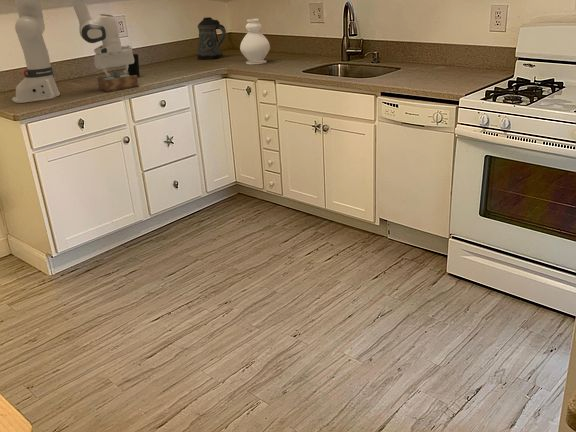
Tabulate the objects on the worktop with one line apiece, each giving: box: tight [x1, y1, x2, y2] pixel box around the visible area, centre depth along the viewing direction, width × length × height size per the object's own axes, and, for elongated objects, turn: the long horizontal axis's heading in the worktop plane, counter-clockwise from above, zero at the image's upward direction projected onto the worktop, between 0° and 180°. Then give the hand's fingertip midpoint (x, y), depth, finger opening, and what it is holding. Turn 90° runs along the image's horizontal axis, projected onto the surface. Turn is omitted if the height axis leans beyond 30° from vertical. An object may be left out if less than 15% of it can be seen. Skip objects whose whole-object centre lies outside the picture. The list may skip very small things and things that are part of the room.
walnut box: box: [96, 73, 139, 93], centre depth 307 cm, size 17×11×6 cm, turn 128°
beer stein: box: [196, 16, 227, 61], centre depth 382 cm, size 16×19×25 cm
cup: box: [127, 53, 141, 78], centre depth 334 cm, size 8×8×12 cm
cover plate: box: [102, 70, 130, 80], centre depth 306 cm, size 14×8×4 cm, turn 128°
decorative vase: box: [239, 18, 271, 65], centre depth 355 cm, size 18×18×25 cm
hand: (117, 75), depth 306 cm, fingers open, 8 cm apart
